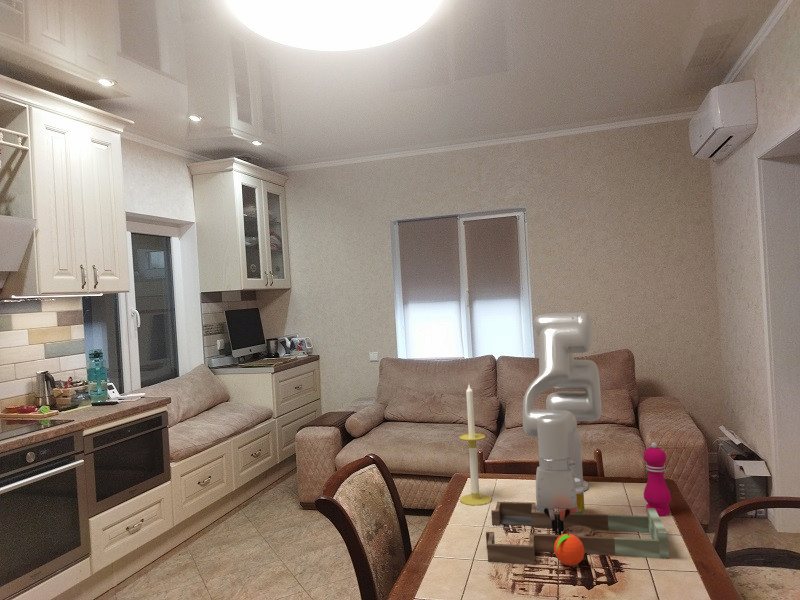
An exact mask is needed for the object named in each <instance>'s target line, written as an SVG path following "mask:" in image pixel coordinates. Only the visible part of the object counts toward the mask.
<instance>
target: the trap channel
mask: <svg viewBox="0 0 800 600" xmlns="http://www.w3.org/2000/svg"><path fill="white" fill-rule="evenodd" d="M536 504H537V502H522V501H521V502H517V501H496V504H495V505H496V506H495V510H492V509H491V511H490V514H491V526H492V525H493V527H499V526H501V525H500V524H503V525H504V524H505V525H504V526H519V525H523V527H527V526H528V527H531V528H533V527H535V528H536V529H539V528H540V529H552V520H551V519H550V517H549V516H547V515H546V514H545V513H544V512H540V511H537V510H536ZM559 514H560V512H555V515H556V517H557V525H558V515H559ZM660 517H661V516H659V515H658V513H657V511H656V510H655V508H647V511H646V515H640V514H639V515H635V514H634V515H633V514H611V513H610V514H605V513H604V514H603V513H600V514H599V513H584V514H583V513H570V514H569V515H568V516H567V517H566V518H565V519H564V520H563V523H564V530H565V529H566V528H568V527H572V526H584V527H588V528H590V529H592V531H604V530H605V531H607V532H609V531H611V532H630V533H649V536H650V538H638V537H637V538H633V537H631V538H630V537H616V536H615V537H611V536H610V537H609V536H602V537H593V536H576V537H577V538H579V539H580V541H581V542H582V544H583V546H584V555H593V554H598V555H597V556H612V557H613V556H615V557H632V558H635V557H636V558H653V559H670V549H669V534H668V533H669V532H668V531H667V529H666V527H665V525H664V524H663V523H664V522H663V521H662V520H661V518H660ZM494 525H496V526H494ZM497 525H498V526H497ZM503 525H502V526H503ZM535 528H534V529H535ZM605 531H604V532H605ZM561 535H562V534H561ZM561 535H559V534H558V535H555V534H546V533H545V534H544V533H529V543H528V545H526V544H507V543H496V540H495V531H485V540H486V541H485V542H486V544H485V545H486V551H487V562H489V563H491V562H492V563H506V564H507V563H509V564H520V565H521V564H522V565H523V564H525V565H535V559H536V557H535V556H536V554H535V553H536V552H538V553H555V552H554V544H555V541H556V540H557V538H558V537H559V536H561ZM585 553H587V554H585Z"/></svg>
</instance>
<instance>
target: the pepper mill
mask: <svg viewBox="0 0 800 600" xmlns="http://www.w3.org/2000/svg"><path fill="white" fill-rule="evenodd" d="M643 459H644V462H646V464H645V466H646V468H645V470H646V471H647V476H648V477H647V481H646V485H645V487H644V490H643V498H644V499H643V500H644V501H645V502H646V505H645V509H646V512H647V508H655V510H656V511H657V513H658V515H659V517H667V516H669V515H670V514H671V507H670V503H671V502H672V495H671V491H670V489H669V487H668V485H667V482H666V480H665V471H666V465H665V463H666V461H667V454H666V453H665V451H664V450H663V449H661V448H659V447H658V443H657V442H655V441H653V442H651V444H650V447H648V448H647V449H645V451H644V452H643Z"/></svg>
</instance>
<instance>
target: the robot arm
mask: <svg viewBox="0 0 800 600" xmlns="http://www.w3.org/2000/svg"><path fill="white" fill-rule="evenodd" d="M591 318H592V317H591V316H590V315H589V314H588V313H586V312H582V311H581V312H579V311H577V312H573V311H572V312H553V313H552V312H550V313H544V314H543V313H542V314H539V315H537V316H536V317H534V319H533V326H534V330H535V332H536V334H537V337H539V338H538V341H539V342H538V343H539V344H538V356H539V357H538V361H539V363H538V369H539V370H538V371H539V372H538V375H537V377H535V378H534V380H533V381H532V382H531V383H530V384H529V385H528V387H527V389H526V391H525V393H524V396H523V402H522V430H523V431H524V433H525V434H526V435H527V436H528V437H531V438H537V443H538V444H537V445H538V458H539V459H538V462H539V466H537V467H536V475H535V500H536V501H535V502H536V512H544V513H545V514H546V515H547V516H549V517H550V519H551V520H552V528H551V530H552V532H554V535H562V533H563V532H564V530H565V529H564V523H563V520H564V519H565V518H566V517H567V516H568V515H569V514H570V513H576V512H578V507H577V504H576V503H577V499H576V487H575V479H574V478H578V479H580V483H581V485H580V486H581V487H582V488H583V491H588V489H589V483H588V482H587V481H586V480H584V476H583V475H584V474H583V460H582V458H583V457H582V440H581V434H580V431H579V429H578V424H577V423H578V422H595V421H598V420H599V419H601V417H602V411H603V409H602V406H603V405H602V398H601V396H602V394H601V393H602V392H601V381H600V379H601V378H600V372H599V368H598V365H597V364H596V362H595V361H593V360H591V359H575V358H574V354H575V353H576V354H577V353H579V354H583V353H587V352H588V351H590V348H591V345H592V333H593V323H592V319H591ZM551 388H554V389H557V390H563V391H555V392H552V393H549V394H548V395H547V397H546V399H545V400H546V401H545V408H546V409H534V404H535V401H536V399H537V398H538V397H539V396H540V395H541V394H542V393H544V392H545V391H547V390H550V389H551ZM564 390H569V391H564ZM570 390H571V391H570ZM572 390H583V391H572ZM555 509H557V510H559V513H560V514H559V515H558V525H557V517H556V515H555V513H556V511H555Z"/></svg>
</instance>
